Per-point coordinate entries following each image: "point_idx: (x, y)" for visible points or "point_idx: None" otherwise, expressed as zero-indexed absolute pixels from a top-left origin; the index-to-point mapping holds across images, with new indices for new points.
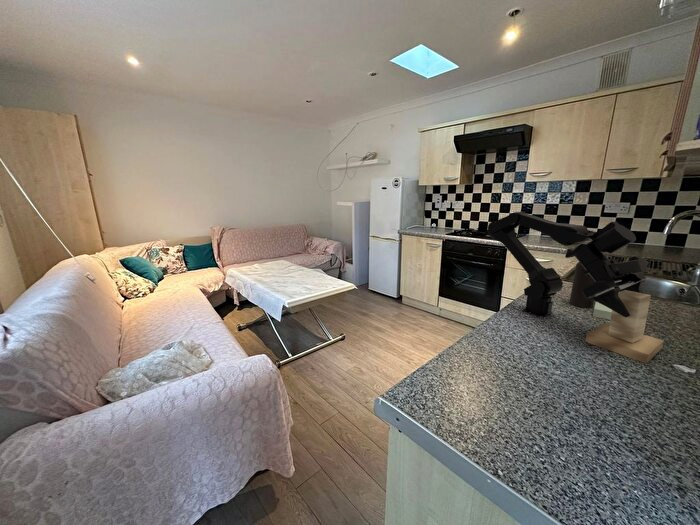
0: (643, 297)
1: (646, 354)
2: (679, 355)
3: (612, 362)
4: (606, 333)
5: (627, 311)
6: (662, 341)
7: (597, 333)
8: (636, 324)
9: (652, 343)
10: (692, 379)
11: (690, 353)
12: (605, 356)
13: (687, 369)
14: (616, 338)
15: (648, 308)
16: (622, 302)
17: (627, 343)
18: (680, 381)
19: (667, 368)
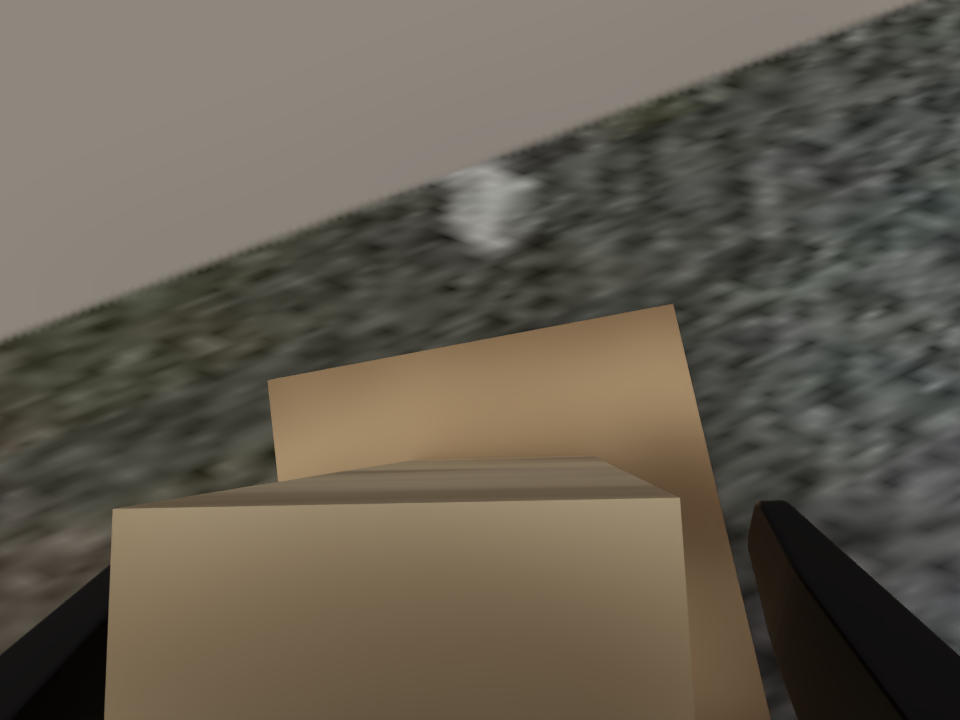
0: (505, 500)
1: (673, 317)
2: (305, 296)
3: (894, 424)
4: None
5: (809, 550)
6: (296, 377)
7: None
8: (584, 462)
9: (414, 391)
10: (600, 126)
11: (204, 282)
12: (851, 497)
13: (484, 190)
14: None
15: None
16: (909, 716)
17: None
18: (700, 138)
19: (593, 239)
